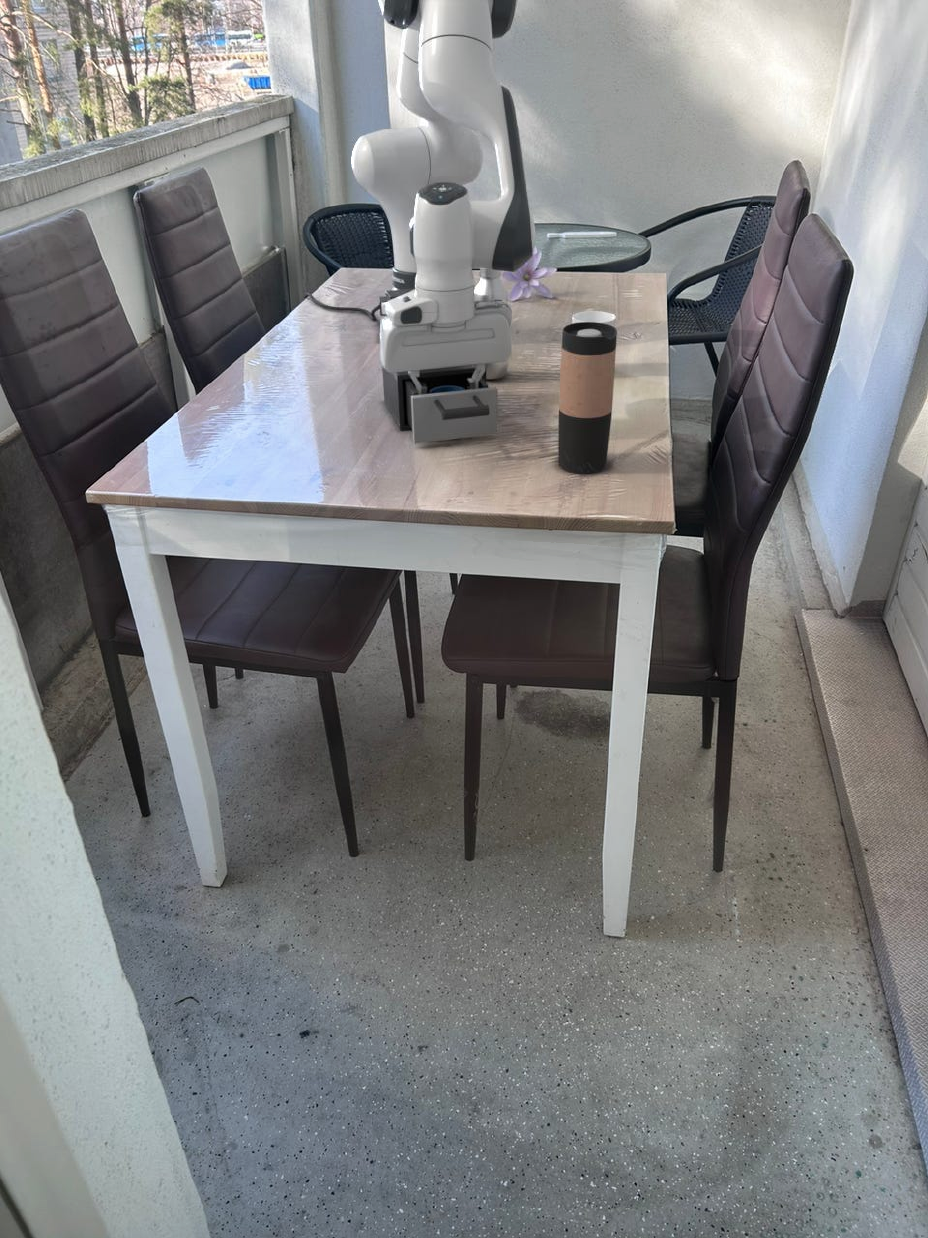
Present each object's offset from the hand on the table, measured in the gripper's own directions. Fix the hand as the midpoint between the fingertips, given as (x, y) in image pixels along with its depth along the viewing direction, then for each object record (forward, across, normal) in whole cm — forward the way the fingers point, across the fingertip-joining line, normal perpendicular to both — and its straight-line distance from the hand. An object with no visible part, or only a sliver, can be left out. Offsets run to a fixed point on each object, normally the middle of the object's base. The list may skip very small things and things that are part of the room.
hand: (447, 393), depth 149 cm
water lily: (+7, -38, -77) cm, 86 cm away
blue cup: (+5, 0, 0) cm, 5 cm away
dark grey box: (+7, 0, -10) cm, 12 cm away
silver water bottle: (+7, -14, -24) cm, 29 cm away
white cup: (+7, -33, -22) cm, 41 cm away
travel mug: (+7, -16, +18) cm, 25 cm away
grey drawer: (+6, 0, +2) cm, 6 cm away
